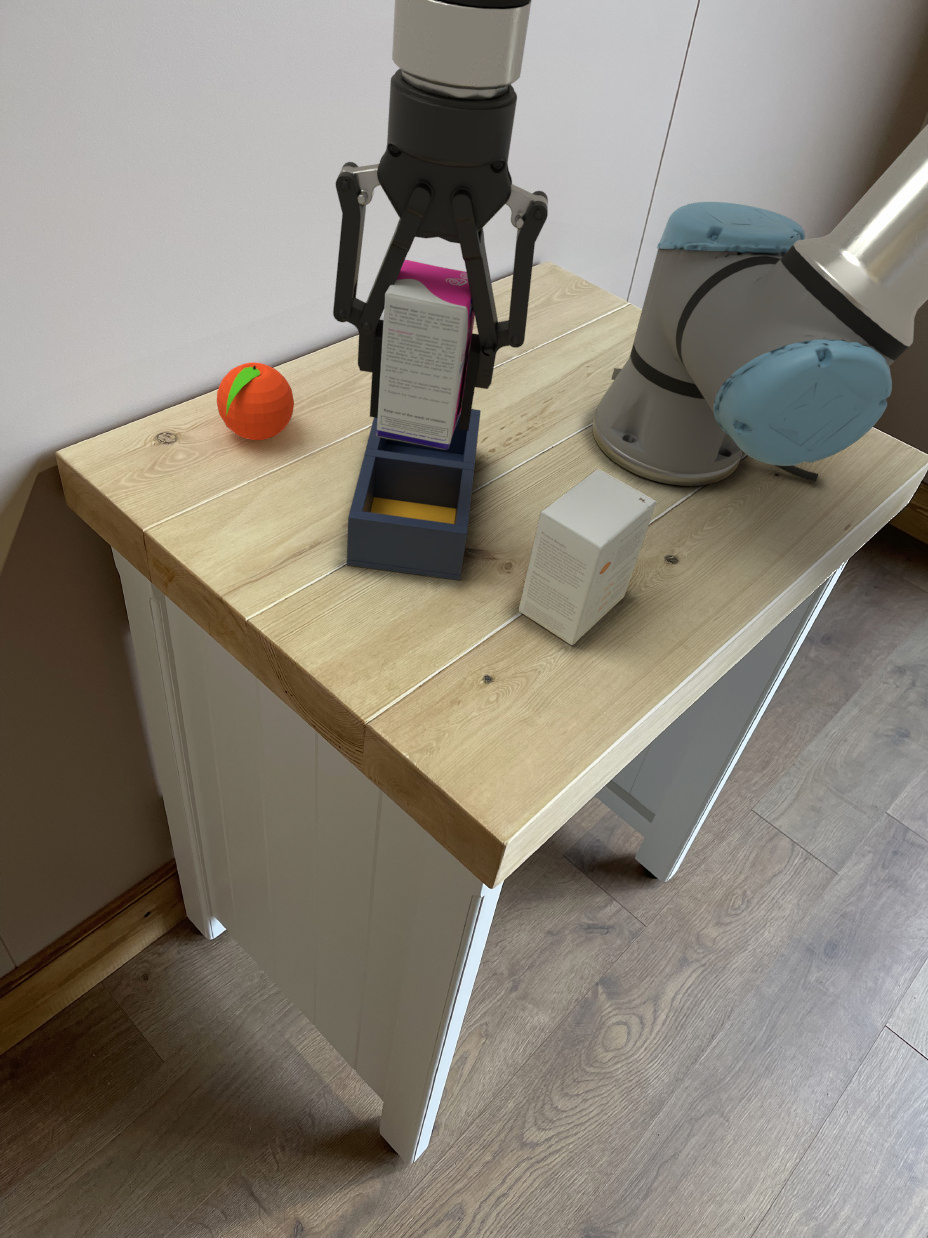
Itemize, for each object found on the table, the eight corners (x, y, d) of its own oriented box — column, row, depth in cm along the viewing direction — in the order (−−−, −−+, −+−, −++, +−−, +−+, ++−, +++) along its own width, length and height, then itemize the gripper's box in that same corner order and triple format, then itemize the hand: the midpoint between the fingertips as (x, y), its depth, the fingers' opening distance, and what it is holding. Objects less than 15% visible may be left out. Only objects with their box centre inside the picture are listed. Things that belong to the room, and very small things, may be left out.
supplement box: (451, 452, 69) (466, 307, 61) (374, 437, 69) (378, 292, 61) (465, 411, 73) (481, 270, 65) (393, 397, 73) (399, 256, 65)
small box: (571, 565, 79) (598, 465, 71) (625, 598, 77) (659, 499, 69) (515, 611, 74) (538, 509, 66) (571, 648, 72) (602, 547, 64)
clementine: (262, 470, 83) (259, 401, 78) (197, 445, 84) (190, 376, 79) (308, 427, 88) (308, 361, 83) (246, 404, 90) (242, 338, 85)
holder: (376, 441, 88) (379, 395, 84) (473, 455, 88) (480, 409, 85) (346, 565, 75) (348, 517, 72) (459, 580, 76) (467, 533, 72)
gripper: (612, 82, 57) (544, 405, 73) (306, 34, 56) (306, 370, 73) (618, 122, 51) (543, 460, 68) (279, 69, 51) (286, 423, 67)
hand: (421, 413), depth 70 cm, fingers closed on supplement box, 6 cm apart
